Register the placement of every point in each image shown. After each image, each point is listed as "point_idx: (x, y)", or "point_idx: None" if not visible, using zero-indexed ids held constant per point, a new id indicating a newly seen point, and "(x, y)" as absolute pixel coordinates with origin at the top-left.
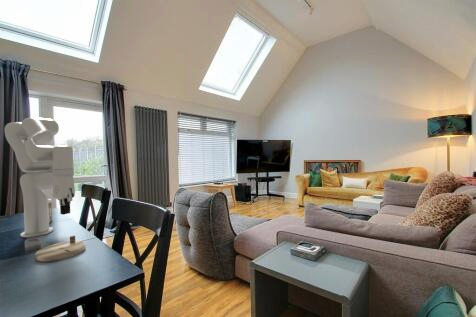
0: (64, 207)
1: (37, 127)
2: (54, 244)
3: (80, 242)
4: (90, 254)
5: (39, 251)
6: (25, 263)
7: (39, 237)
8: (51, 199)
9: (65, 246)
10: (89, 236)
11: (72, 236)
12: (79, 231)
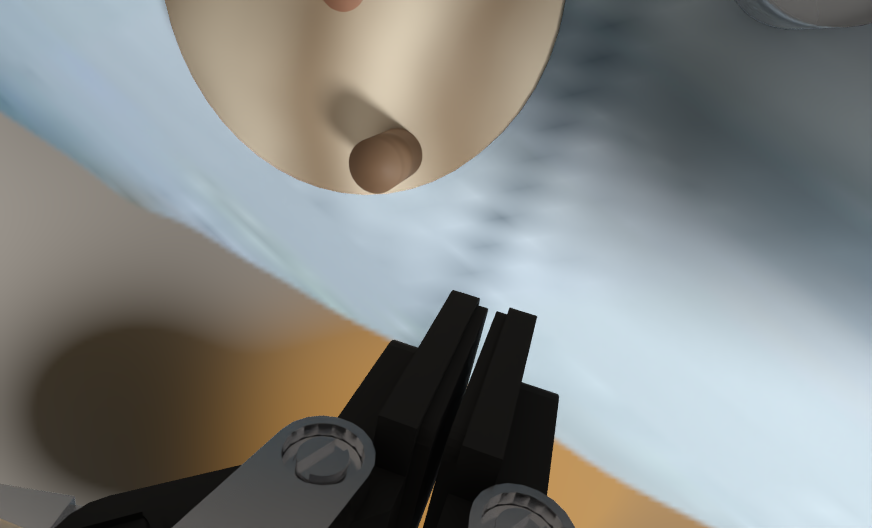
0: (364, 409)
1: None
2: (532, 44)
3: (313, 163)
4: (123, 50)
5: None
6: None
7: (834, 26)
8: None
9: (354, 38)
10: None
11: (373, 167)
12: (751, 503)
